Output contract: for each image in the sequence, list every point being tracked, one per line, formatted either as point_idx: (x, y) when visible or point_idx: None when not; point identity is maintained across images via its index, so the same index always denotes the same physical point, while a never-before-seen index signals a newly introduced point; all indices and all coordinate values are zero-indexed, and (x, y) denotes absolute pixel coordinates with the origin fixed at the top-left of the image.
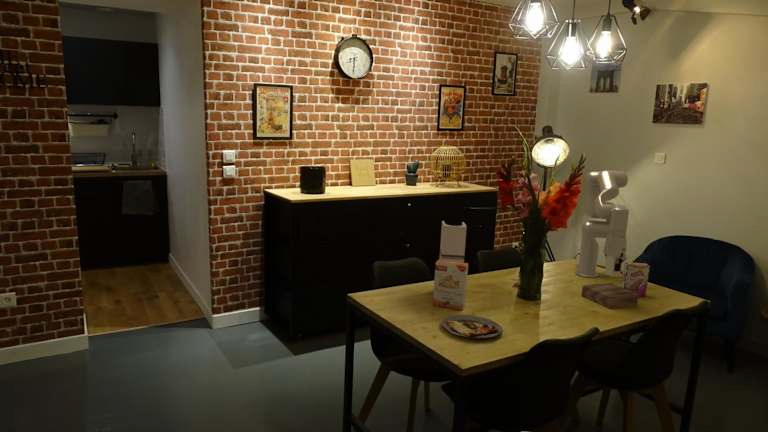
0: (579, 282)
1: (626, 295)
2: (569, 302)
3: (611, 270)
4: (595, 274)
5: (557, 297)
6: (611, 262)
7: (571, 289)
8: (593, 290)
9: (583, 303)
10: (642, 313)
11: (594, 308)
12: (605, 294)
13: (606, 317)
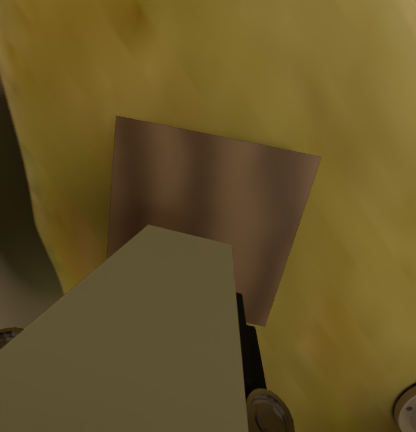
0: (407, 308)
1: (109, 226)
2: (272, 4)
3: (140, 248)
4: (409, 424)
5: (356, 6)
6: (106, 312)
7: (379, 194)
8: (234, 139)
9: (228, 69)
10: (60, 204)
11: (162, 60)
12: (153, 133)
13: (61, 4)
